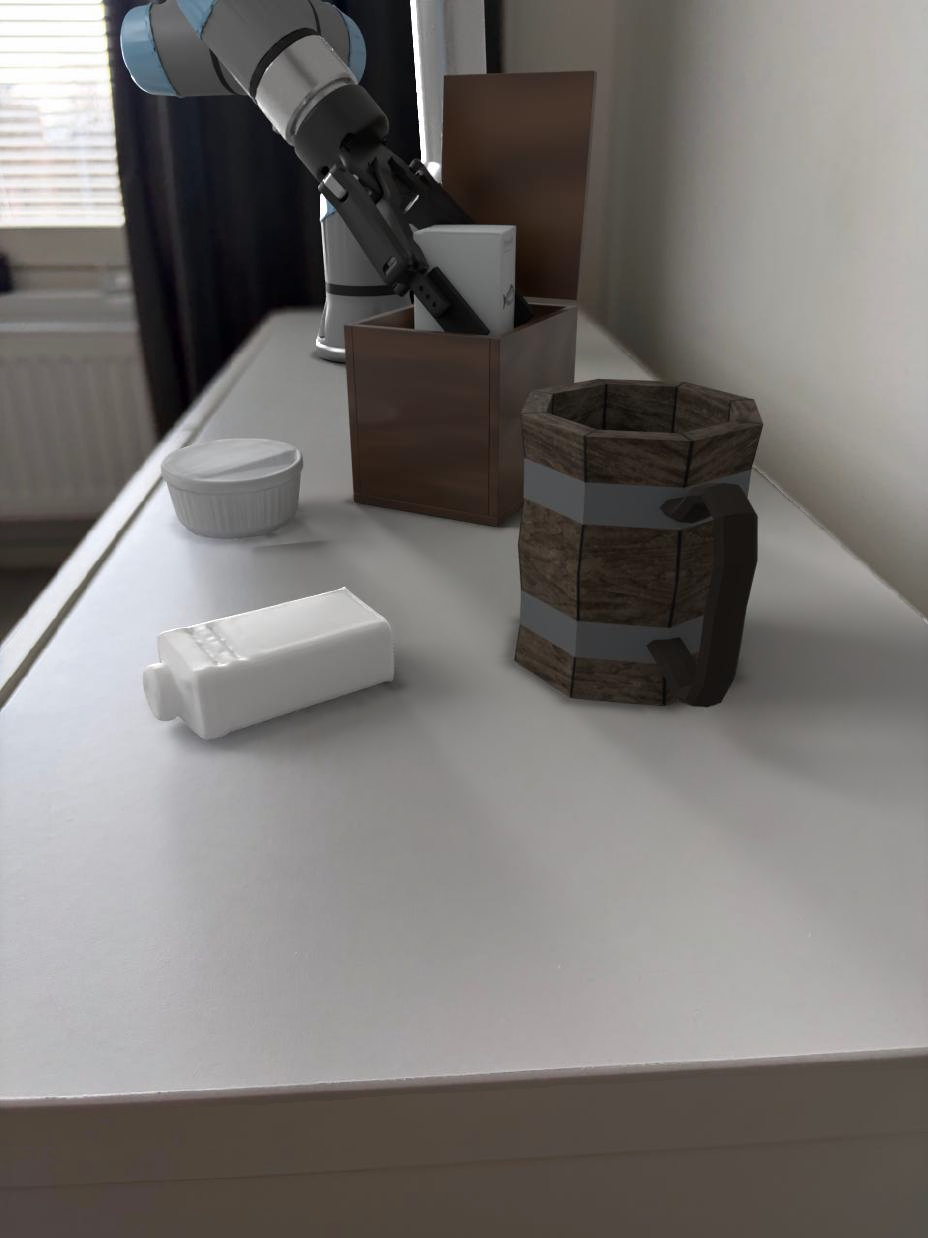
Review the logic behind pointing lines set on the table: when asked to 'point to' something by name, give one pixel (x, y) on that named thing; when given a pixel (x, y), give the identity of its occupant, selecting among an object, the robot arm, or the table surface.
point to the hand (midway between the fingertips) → (501, 333)
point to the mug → (636, 539)
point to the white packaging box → (473, 271)
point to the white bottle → (268, 662)
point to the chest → (448, 410)
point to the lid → (524, 166)
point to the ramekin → (234, 486)
